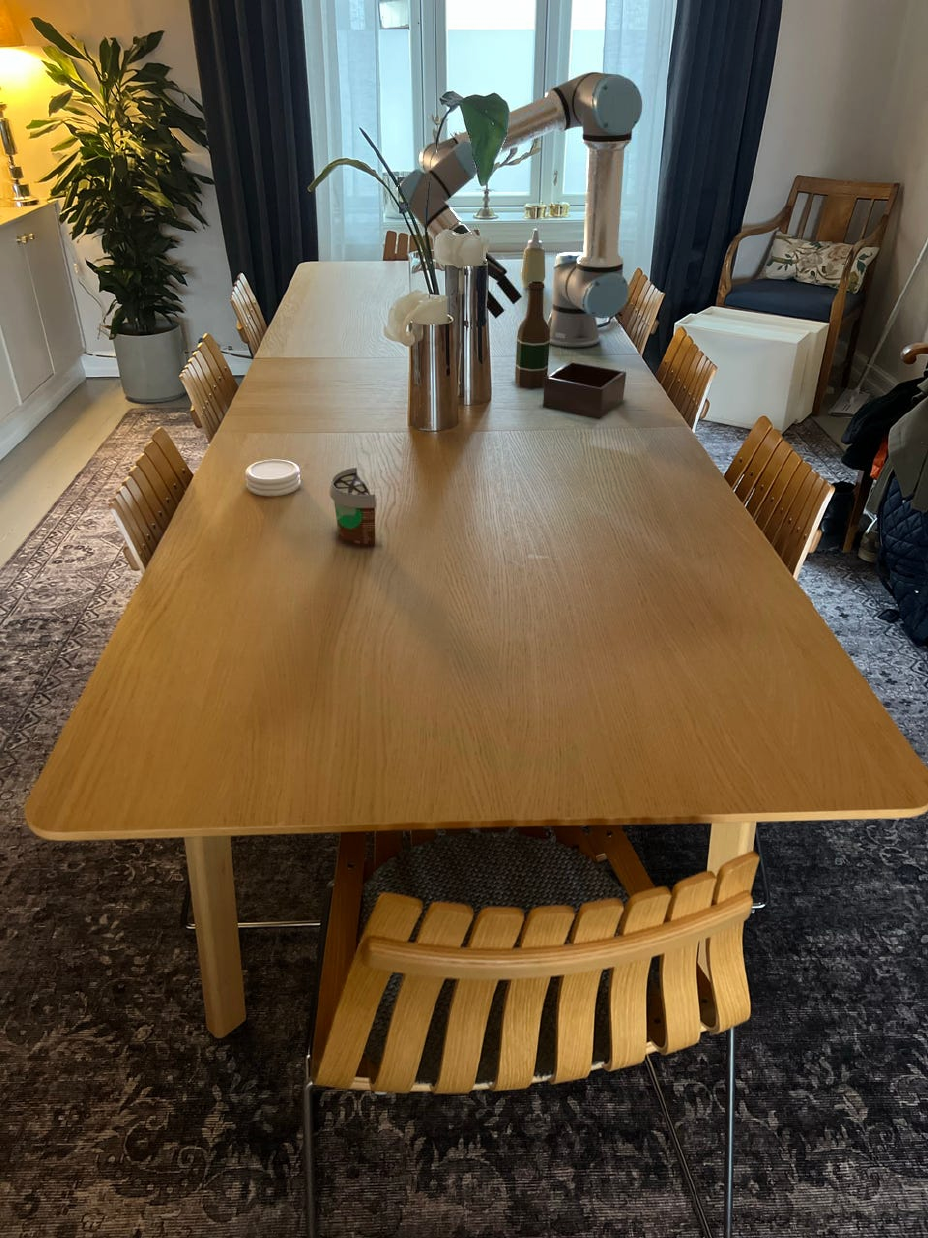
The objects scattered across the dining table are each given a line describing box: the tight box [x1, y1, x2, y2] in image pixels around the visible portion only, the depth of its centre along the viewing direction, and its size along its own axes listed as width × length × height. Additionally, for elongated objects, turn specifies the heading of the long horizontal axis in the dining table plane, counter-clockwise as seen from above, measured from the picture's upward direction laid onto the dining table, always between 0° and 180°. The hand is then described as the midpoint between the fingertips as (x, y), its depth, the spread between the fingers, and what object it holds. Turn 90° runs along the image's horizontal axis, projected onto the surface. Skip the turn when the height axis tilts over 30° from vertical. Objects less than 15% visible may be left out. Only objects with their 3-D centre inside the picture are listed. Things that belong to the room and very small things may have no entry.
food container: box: [328, 467, 377, 548], centre depth 161 cm, size 12×6×10 cm, turn 21°
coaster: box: [244, 459, 301, 498], centre depth 179 cm, size 10×10×4 cm
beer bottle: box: [514, 281, 551, 390], centre depth 226 cm, size 8×8×24 cm
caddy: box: [542, 361, 627, 420], centre depth 219 cm, size 14×14×7 cm
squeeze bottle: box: [520, 228, 546, 290], centre depth 308 cm, size 8×8×18 cm
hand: (509, 307), depth 224 cm, fingers open, 13 cm apart
